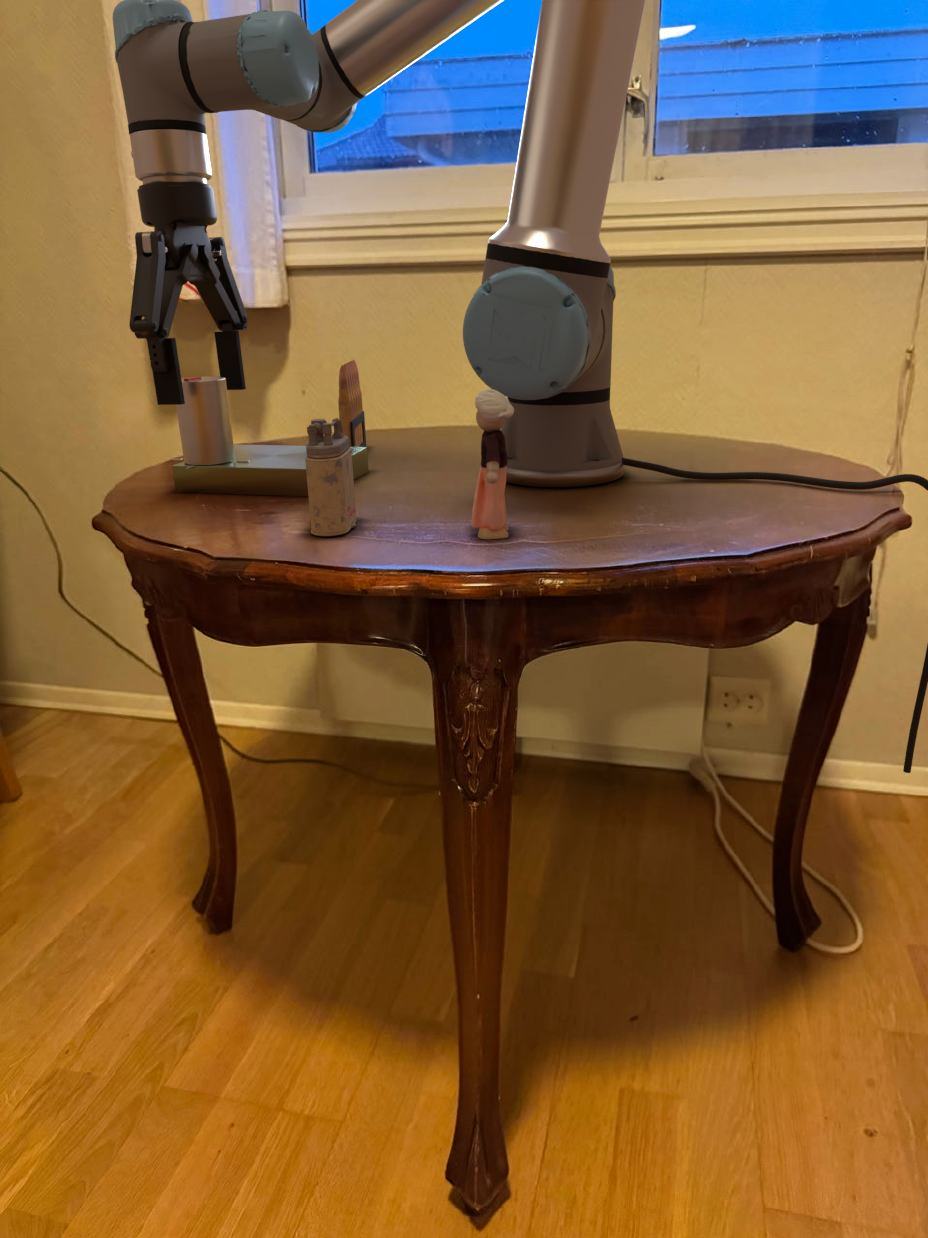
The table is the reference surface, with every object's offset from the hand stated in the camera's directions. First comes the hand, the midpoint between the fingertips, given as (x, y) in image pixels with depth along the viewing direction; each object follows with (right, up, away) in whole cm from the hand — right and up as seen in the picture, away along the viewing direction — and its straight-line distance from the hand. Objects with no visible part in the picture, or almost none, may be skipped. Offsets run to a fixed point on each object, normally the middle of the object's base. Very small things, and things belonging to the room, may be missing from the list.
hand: (204, 396), depth 97 cm
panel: (+6, -9, +5) cm, 12 cm away
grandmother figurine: (+31, -17, -18) cm, 40 cm away
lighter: (+17, -16, -15) cm, 27 cm away
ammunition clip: (+14, -3, +22) cm, 26 cm away
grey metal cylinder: (0, -7, +3) cm, 7 cm away
